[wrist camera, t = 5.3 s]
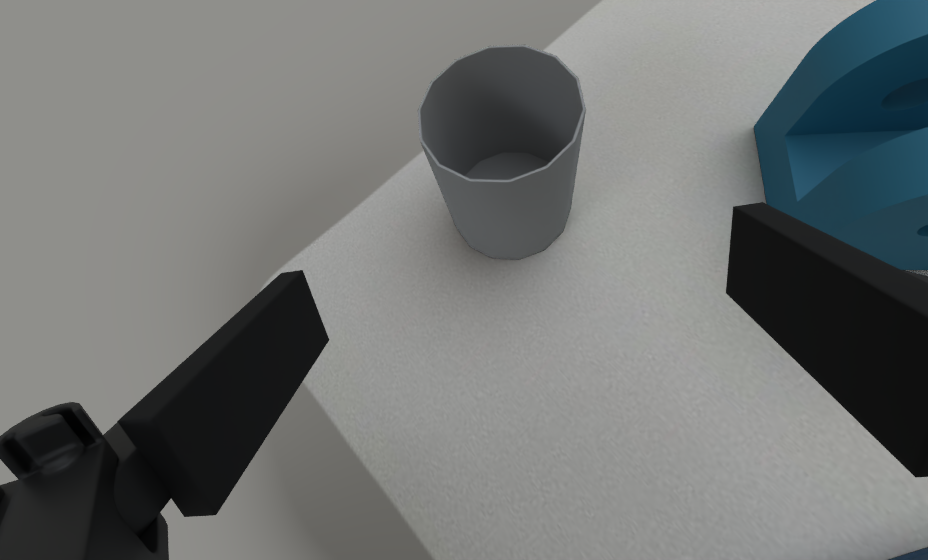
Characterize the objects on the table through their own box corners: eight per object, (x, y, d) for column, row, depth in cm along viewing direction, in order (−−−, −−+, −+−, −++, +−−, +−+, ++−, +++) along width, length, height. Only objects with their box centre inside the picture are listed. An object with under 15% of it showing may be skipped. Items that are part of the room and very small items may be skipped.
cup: (594, 218, 29) (621, 121, 20) (493, 282, 29) (472, 214, 19) (525, 137, 32) (520, 19, 23) (433, 194, 32) (390, 99, 22)
